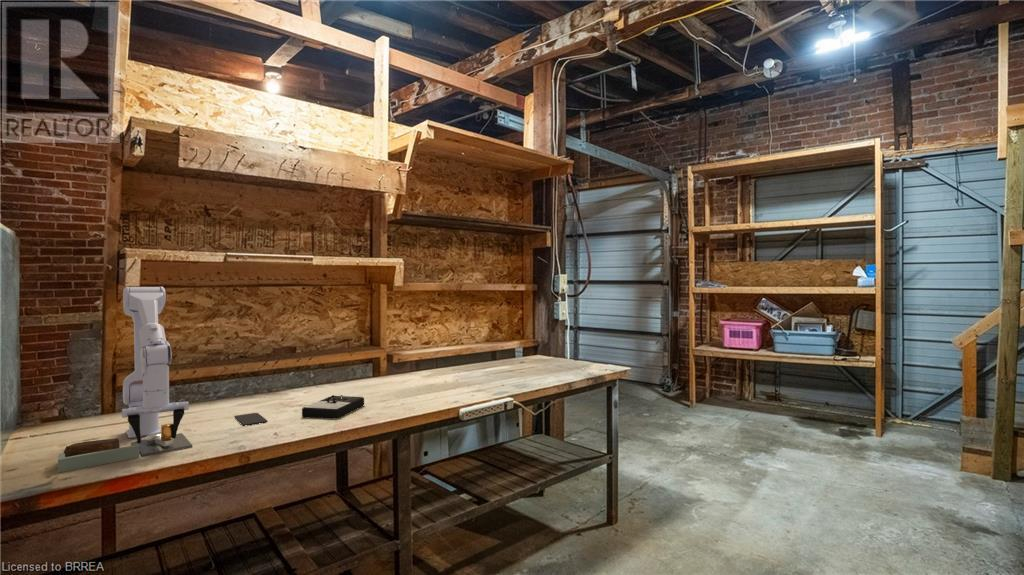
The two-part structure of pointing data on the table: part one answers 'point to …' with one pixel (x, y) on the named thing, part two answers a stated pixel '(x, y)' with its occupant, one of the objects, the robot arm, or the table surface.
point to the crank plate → (156, 448)
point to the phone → (250, 419)
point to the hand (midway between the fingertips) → (156, 439)
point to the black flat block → (332, 407)
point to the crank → (162, 436)
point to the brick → (91, 447)
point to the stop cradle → (97, 457)
